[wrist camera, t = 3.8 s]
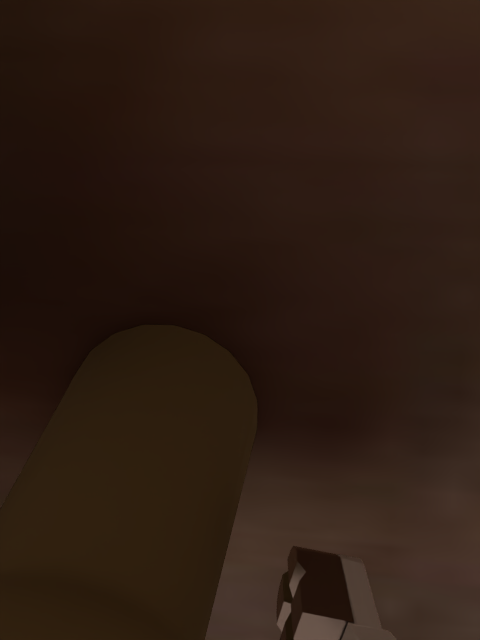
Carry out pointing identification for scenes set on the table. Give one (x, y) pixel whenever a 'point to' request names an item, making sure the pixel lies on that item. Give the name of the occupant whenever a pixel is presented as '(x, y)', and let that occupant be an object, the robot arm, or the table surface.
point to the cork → (129, 494)
